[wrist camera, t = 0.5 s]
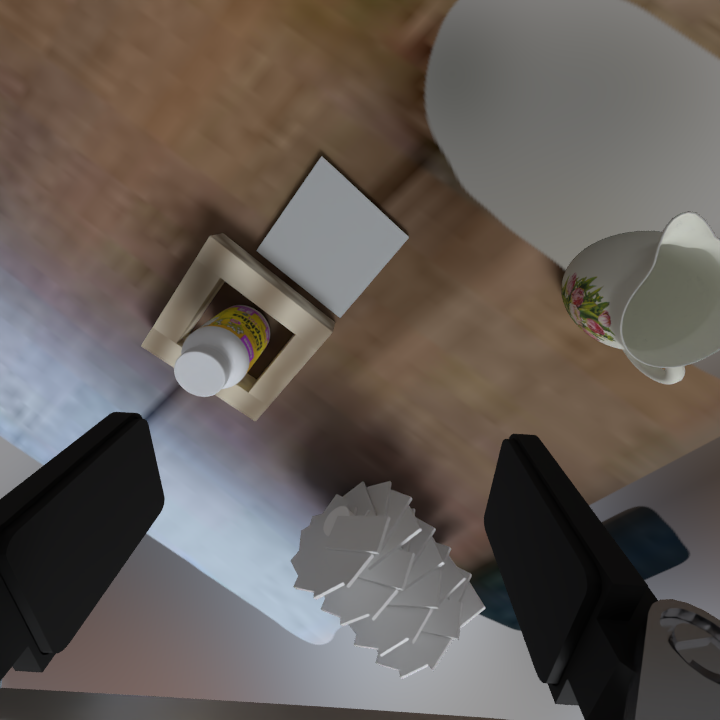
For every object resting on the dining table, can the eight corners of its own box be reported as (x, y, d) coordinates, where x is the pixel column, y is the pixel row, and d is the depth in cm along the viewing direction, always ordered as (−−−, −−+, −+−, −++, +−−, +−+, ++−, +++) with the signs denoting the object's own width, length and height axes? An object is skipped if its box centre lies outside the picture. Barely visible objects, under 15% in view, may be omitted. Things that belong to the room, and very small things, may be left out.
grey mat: (257, 250, 40) (256, 250, 39) (322, 156, 36) (321, 155, 35) (340, 316, 43) (340, 317, 42) (408, 236, 39) (409, 237, 38)
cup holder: (157, 335, 45) (140, 345, 41) (222, 233, 39) (209, 235, 36) (262, 407, 49) (255, 421, 45) (335, 322, 43) (332, 332, 40)
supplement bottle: (282, 337, 44) (250, 386, 33) (241, 362, 46) (197, 418, 34) (248, 292, 42) (201, 327, 30) (207, 320, 44) (147, 364, 32)
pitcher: (566, 367, 45) (642, 432, 32) (525, 234, 39) (600, 250, 26) (658, 331, 43) (778, 385, 30) (631, 183, 36) (769, 173, 24)
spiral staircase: (400, 551, 65) (317, 467, 56) (493, 559, 55) (410, 456, 45) (366, 674, 53) (252, 591, 43) (479, 716, 42) (360, 617, 33)
